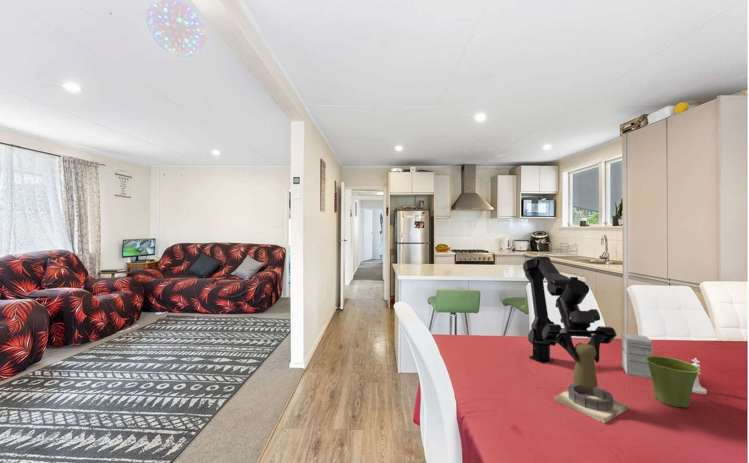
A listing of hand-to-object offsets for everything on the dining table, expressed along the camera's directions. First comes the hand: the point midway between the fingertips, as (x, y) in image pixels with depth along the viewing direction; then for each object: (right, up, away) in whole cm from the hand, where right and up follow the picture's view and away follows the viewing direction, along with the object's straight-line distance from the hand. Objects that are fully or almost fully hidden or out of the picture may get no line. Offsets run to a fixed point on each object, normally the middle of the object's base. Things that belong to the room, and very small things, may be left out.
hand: (587, 361), depth 91 cm
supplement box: (+33, -13, +23) cm, 42 cm away
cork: (0, -7, +1) cm, 7 cm away
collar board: (+1, -13, +1) cm, 13 cm away
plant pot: (+27, -13, +3) cm, 30 cm away
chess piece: (+41, -13, +10) cm, 44 cm away
